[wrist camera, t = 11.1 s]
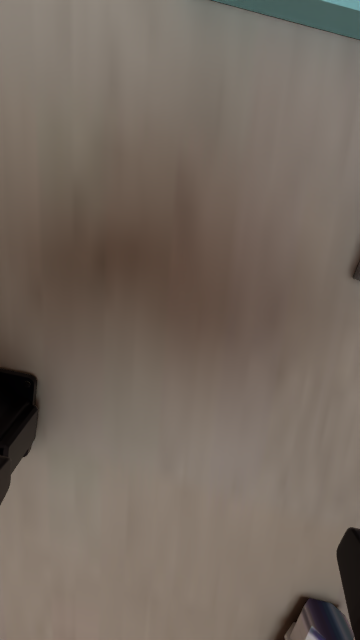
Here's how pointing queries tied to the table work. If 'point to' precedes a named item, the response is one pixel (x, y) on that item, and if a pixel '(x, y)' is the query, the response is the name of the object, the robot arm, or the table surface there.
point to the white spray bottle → (320, 623)
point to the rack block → (310, 13)
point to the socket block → (357, 273)
